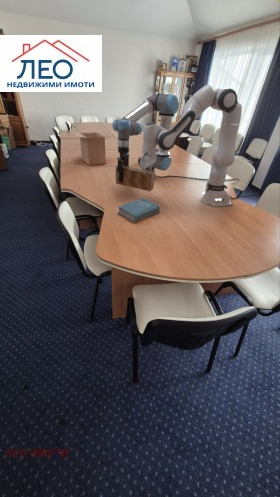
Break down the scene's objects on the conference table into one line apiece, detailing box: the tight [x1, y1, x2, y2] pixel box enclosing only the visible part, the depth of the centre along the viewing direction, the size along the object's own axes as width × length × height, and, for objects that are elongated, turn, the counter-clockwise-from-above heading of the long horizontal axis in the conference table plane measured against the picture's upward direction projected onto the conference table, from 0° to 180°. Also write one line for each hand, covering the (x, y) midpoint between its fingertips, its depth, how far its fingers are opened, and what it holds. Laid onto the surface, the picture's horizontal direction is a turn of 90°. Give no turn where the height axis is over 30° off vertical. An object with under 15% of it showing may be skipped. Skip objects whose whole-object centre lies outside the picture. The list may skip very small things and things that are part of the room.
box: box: [70, 129, 114, 166], centre depth 229 cm, size 44×36×27 cm
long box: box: [115, 165, 156, 192], centre depth 158 cm, size 28×6×12 cm, turn 66°
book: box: [117, 197, 161, 223], centre depth 145 cm, size 23×16×5 cm
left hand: (123, 180), depth 163 cm, fingers closed on long box, 6 cm apart
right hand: (147, 172), depth 152 cm, fingers open, 8 cm apart
